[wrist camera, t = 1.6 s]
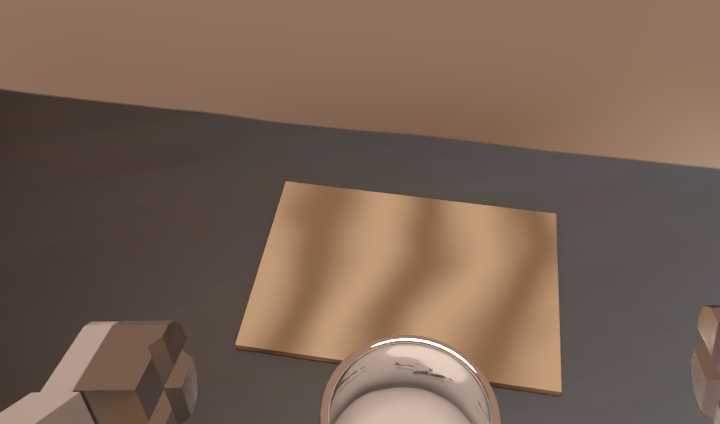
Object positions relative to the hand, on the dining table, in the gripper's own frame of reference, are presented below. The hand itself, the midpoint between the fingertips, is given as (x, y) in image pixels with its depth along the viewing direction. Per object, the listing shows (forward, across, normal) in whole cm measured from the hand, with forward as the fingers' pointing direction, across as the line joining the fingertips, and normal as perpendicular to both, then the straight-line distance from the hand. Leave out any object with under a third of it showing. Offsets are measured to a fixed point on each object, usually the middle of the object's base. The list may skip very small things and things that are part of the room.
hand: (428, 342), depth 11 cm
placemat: (+29, +4, +21) cm, 36 cm away
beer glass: (+14, +4, +26) cm, 30 cm away
